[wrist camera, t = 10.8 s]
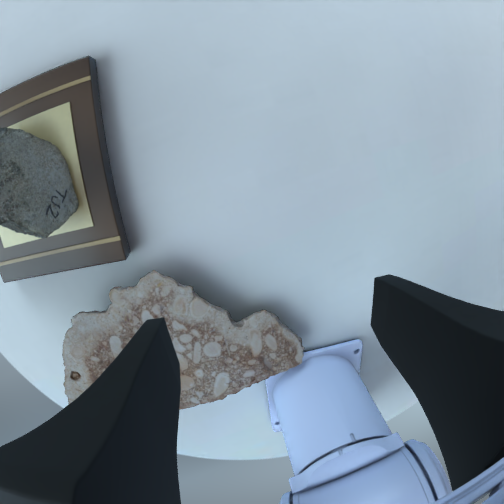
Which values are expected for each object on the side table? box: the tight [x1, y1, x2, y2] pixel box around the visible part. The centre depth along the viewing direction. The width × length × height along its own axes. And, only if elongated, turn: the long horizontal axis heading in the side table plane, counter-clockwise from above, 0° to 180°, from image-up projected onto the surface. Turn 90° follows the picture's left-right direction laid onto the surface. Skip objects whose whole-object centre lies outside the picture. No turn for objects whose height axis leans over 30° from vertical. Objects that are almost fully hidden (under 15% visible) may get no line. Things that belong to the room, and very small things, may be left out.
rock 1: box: [0, 127, 79, 239], centre depth 12 cm, size 6×7×5 cm
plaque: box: [0, 56, 130, 283], centre depth 15 cm, size 12×10×1 cm
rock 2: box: [62, 270, 304, 410], centre depth 19 cm, size 18×4×10 cm
